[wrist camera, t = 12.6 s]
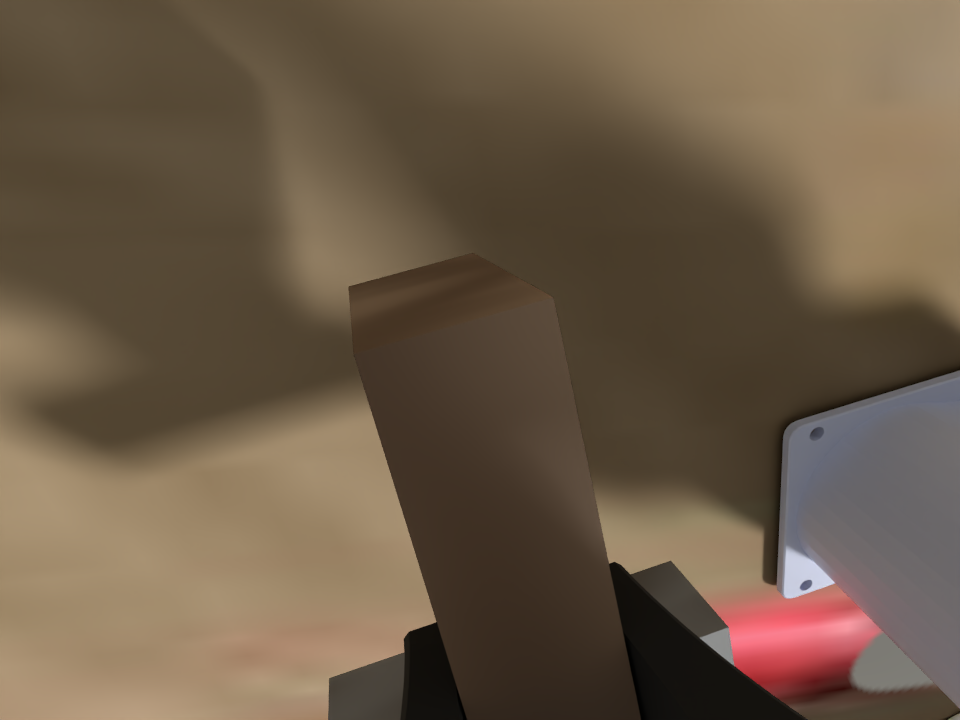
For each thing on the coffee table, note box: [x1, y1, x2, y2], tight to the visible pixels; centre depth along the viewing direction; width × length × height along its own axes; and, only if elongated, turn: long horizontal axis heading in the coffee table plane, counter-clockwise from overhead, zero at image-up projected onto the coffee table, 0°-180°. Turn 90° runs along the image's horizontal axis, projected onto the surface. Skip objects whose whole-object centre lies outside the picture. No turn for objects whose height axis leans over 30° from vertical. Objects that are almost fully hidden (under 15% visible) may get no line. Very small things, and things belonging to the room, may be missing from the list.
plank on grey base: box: [328, 253, 734, 720], centre depth 11 cm, size 8×9×5 cm
